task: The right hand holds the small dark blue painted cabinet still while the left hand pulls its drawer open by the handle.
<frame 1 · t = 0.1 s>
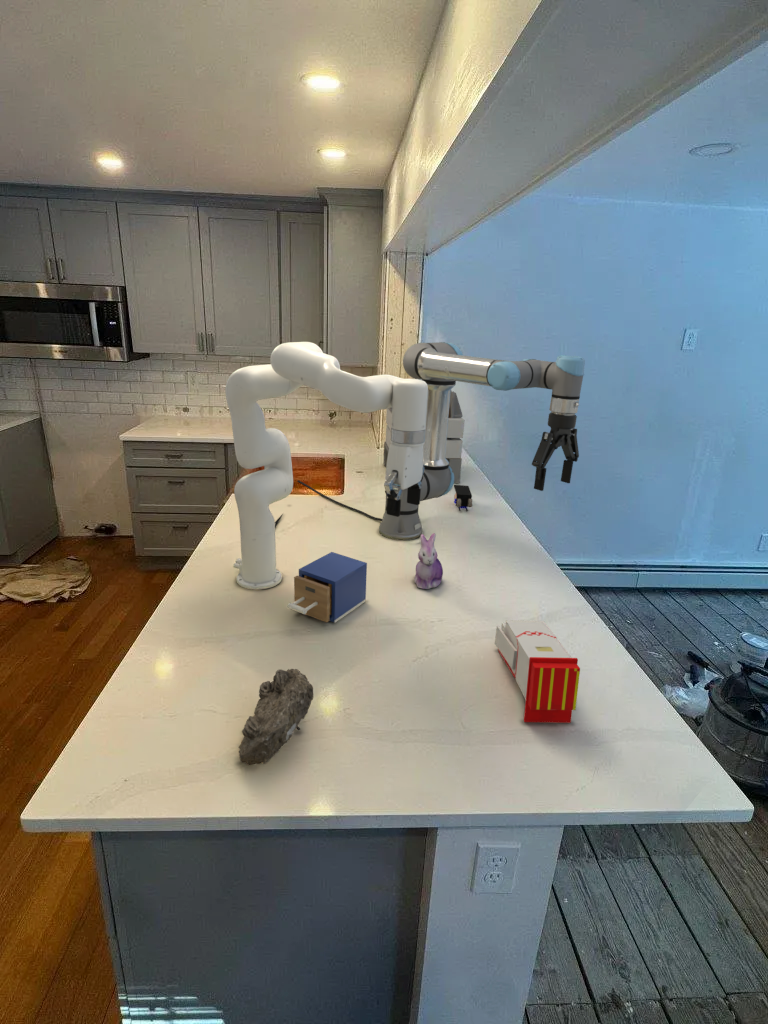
left hand: (403, 509, 131), 31 cm above the counter, tool pointing down, fingers open, 9 cm apart
right hand: (552, 485, 166), 28 cm above the counter, tool pointing down, fingers open, 13 cm apart
figurine: (428, 583, 165), on the counter
grey wooden crate: (419, 473, 275), on the counter
toy: (528, 680, 123), on the counter
figurine character: (461, 507, 230), on the counter
fossil: (279, 727, 106), on the counter
cabinet: (332, 605, 150), on the counter
feather: (281, 517, 210), on the counter
drawer: (318, 594, 144), point 6 cm above the counter, slide at 1.3 cm
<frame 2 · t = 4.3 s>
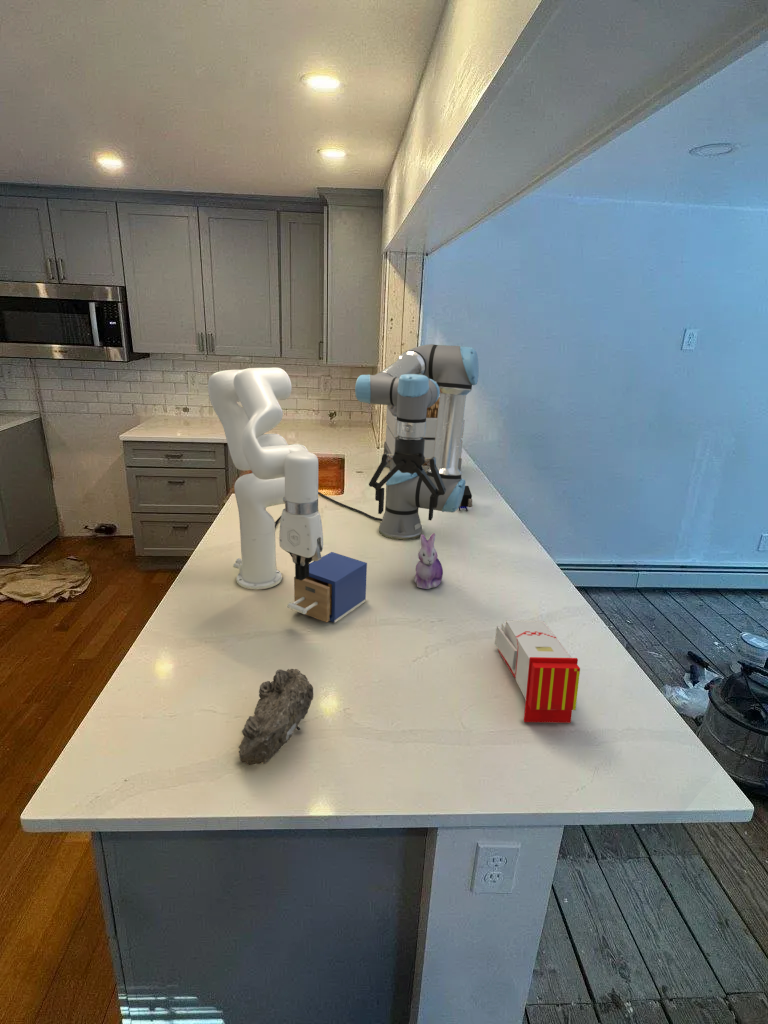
left hand: (302, 577, 136), 13 cm above the counter, tool pointing down, fingers closed
right hand: (405, 515, 151), 23 cm above the counter, tool pointing down, fingers open, 13 cm apart
nothing on the counter moved.
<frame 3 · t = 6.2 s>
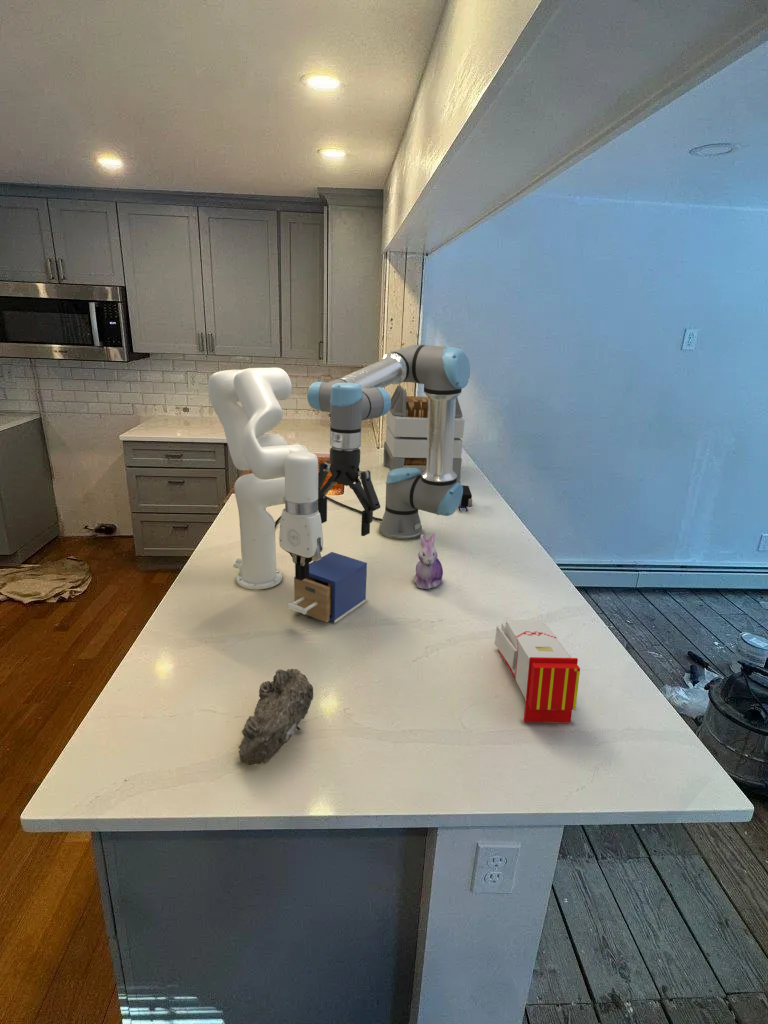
left hand: (302, 577, 136), 13 cm above the counter, tool pointing down, fingers closed
right hand: (343, 528, 146), 21 cm above the counter, tool pointing down, fingers open, 13 cm apart
nothing on the counter moved.
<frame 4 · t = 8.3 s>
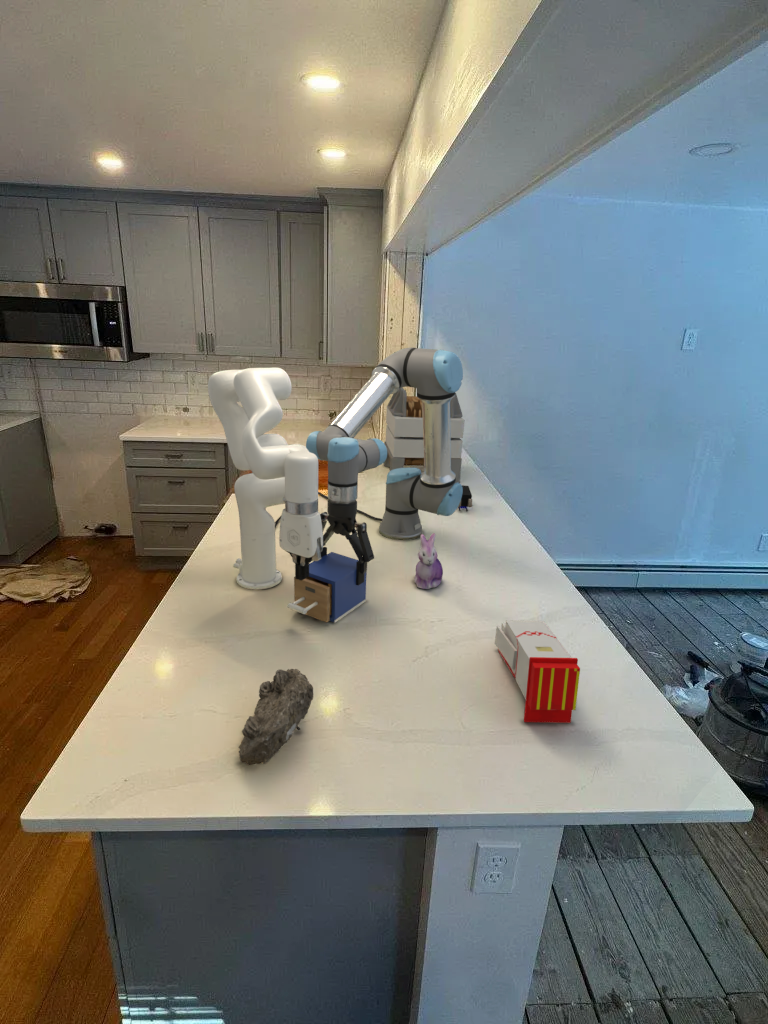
left hand: (302, 577, 136), 13 cm above the counter, tool pointing down, fingers closed
right hand: (340, 576, 151), 7 cm above the counter, tool pointing down, fingers closed on cabinet, 12 cm apart
cabinet: (332, 605, 150), on the counter, touching right hand
everything else where it was.
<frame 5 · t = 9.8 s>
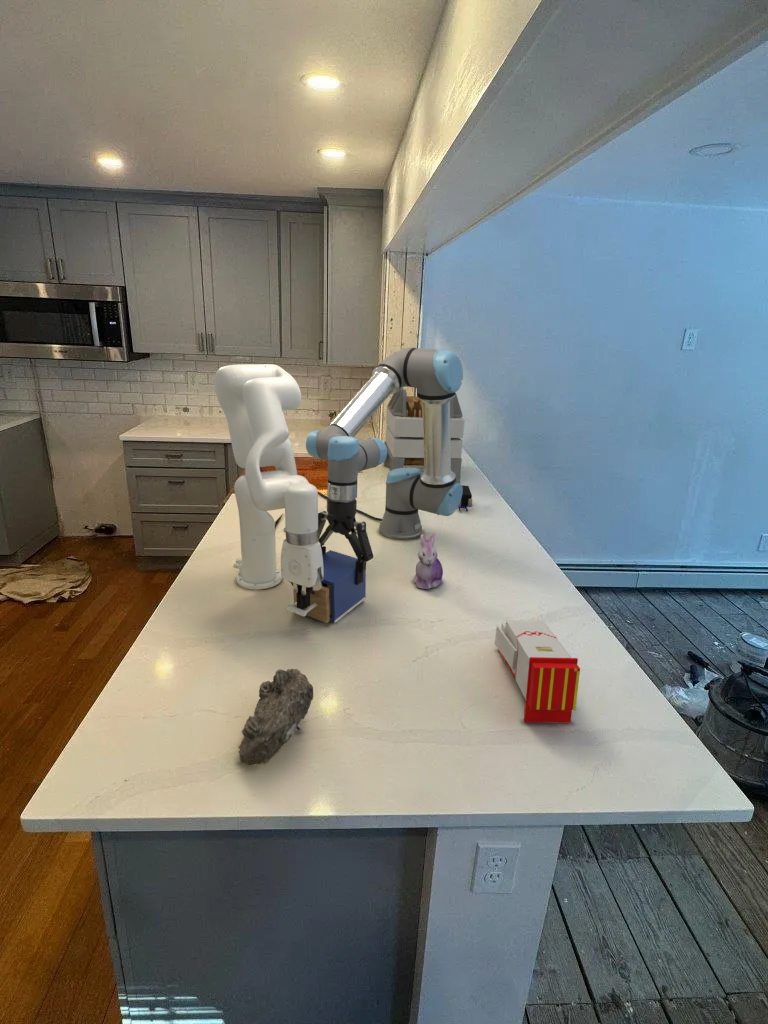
left hand: (303, 606, 138), 6 cm above the counter, tool pointing down, fingers closed
right hand: (339, 576, 150), 7 cm above the counter, tool pointing down, fingers closed on cabinet, 12 cm apart
cabinet: (332, 603, 150), on the counter, touching right hand
drawer: (318, 594, 144), point 6 cm above the counter, slide at 1.2 cm, touching left hand
everything else where it was.
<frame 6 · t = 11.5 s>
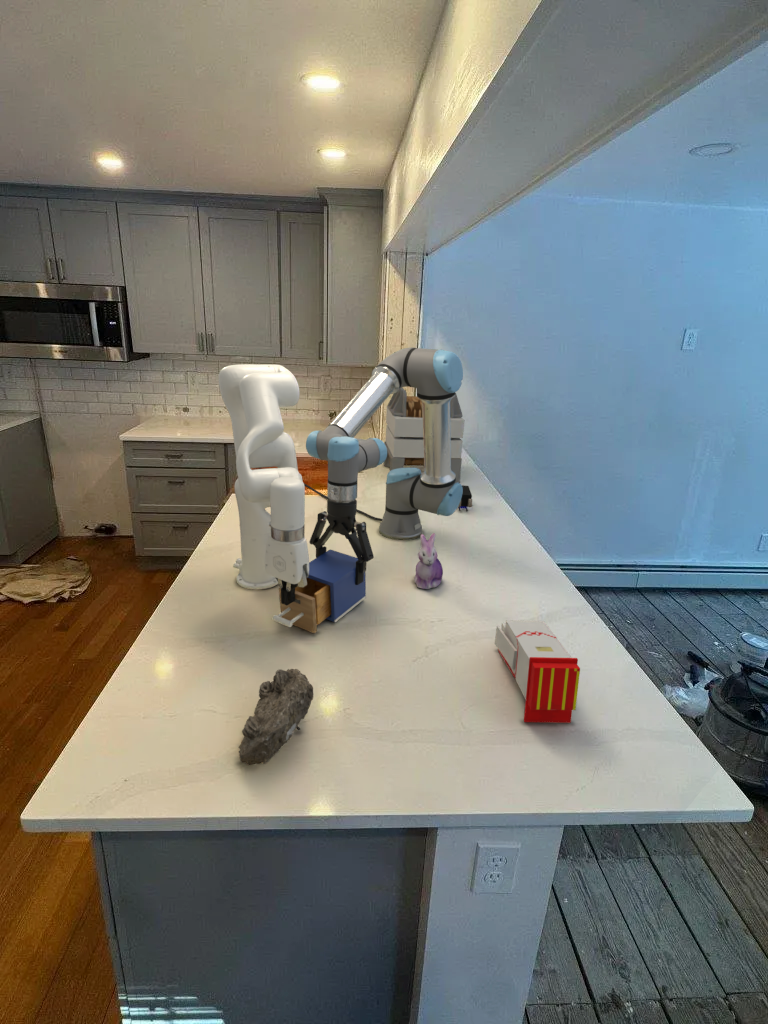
left hand: (288, 602, 135), 8 cm above the counter, tool pointing down, fingers closed
right hand: (340, 576, 150), 7 cm above the counter, tool pointing down, fingers closed on cabinet, 12 cm apart
cabinet: (333, 603, 150), point 1 cm above the counter, touching right hand
drawer: (305, 603, 140), point 5 cm above the counter, slide at 6.3 cm, touching left hand
everything else where it was.
when the right hand's fingers open (7 cm above the counter, at t = 12.8 s): cabinet stays where it is, on the counter.
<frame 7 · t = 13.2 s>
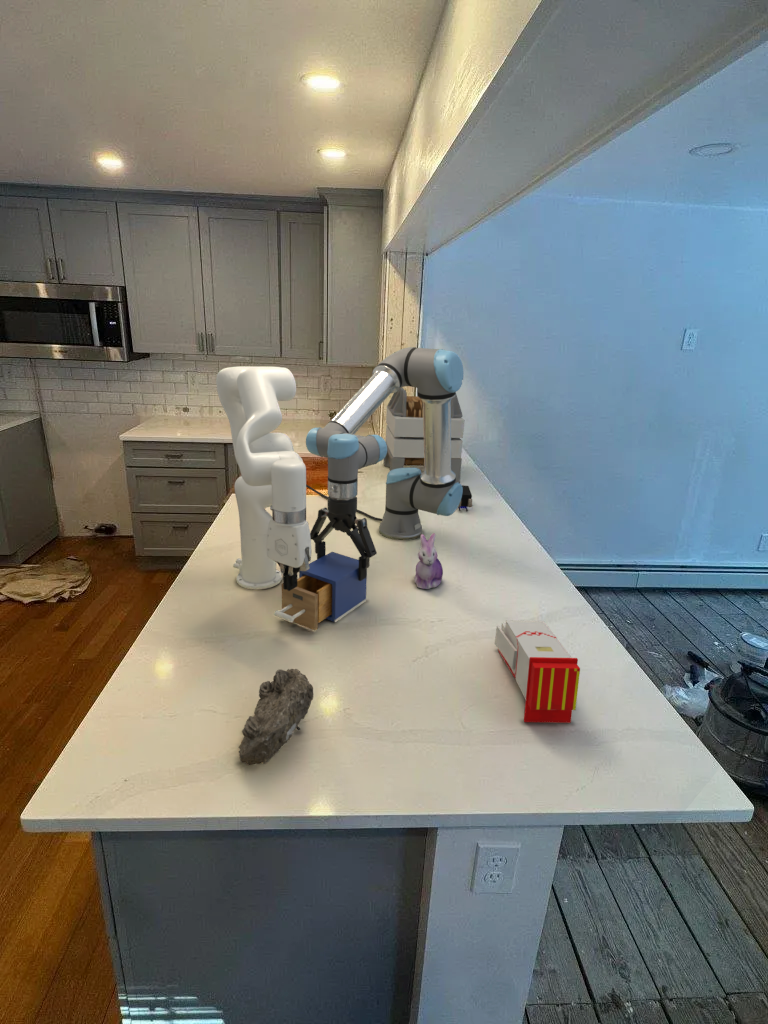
left hand: (290, 587, 133), 12 cm above the counter, tool pointing down, fingers closed
right hand: (341, 571, 150), 8 cm above the counter, tool pointing down, fingers open, 13 cm apart
cabinet: (333, 604, 151), on the counter
drawer: (306, 601, 140), point 6 cm above the counter, slide at 6.1 cm
everything else where it was.
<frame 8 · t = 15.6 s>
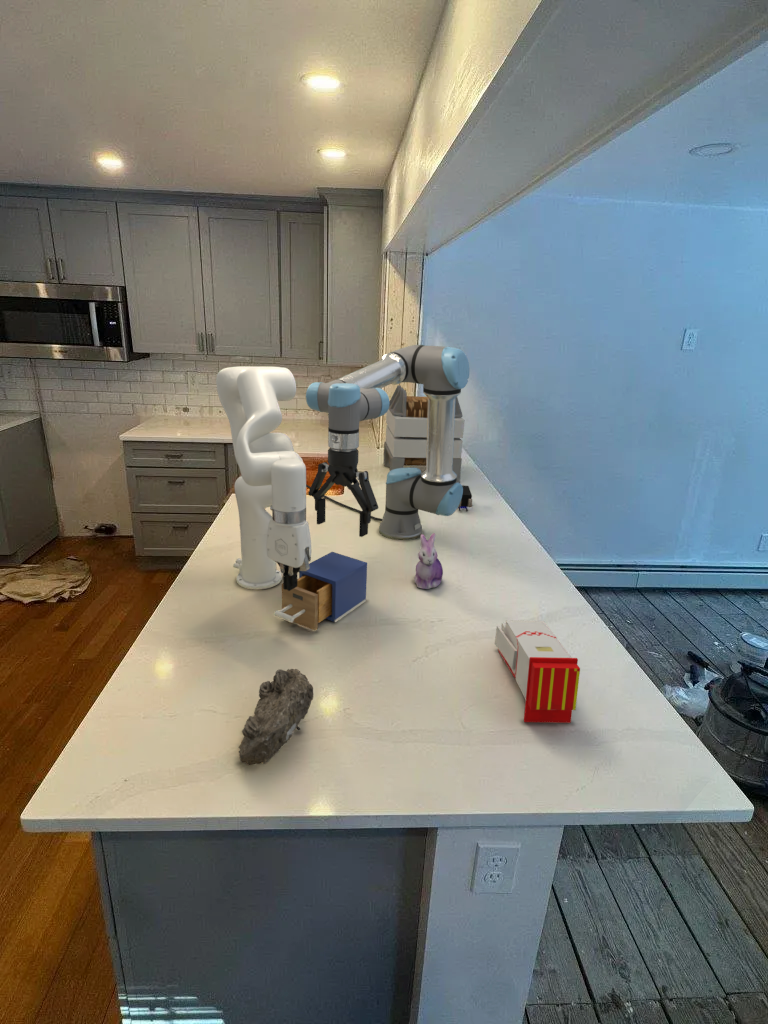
left hand: (290, 587, 133), 12 cm above the counter, tool pointing down, fingers closed
right hand: (341, 529, 146), 21 cm above the counter, tool pointing down, fingers open, 13 cm apart
nothing on the counter moved.
at the end: drawer slide at 6.1 cm; cabinet tilted 0°; cabinet never tilted more than 7° during the clip; cabinet moved 0.2 cm from its start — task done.
